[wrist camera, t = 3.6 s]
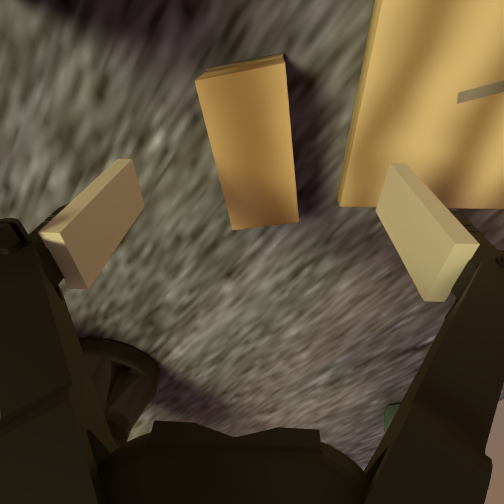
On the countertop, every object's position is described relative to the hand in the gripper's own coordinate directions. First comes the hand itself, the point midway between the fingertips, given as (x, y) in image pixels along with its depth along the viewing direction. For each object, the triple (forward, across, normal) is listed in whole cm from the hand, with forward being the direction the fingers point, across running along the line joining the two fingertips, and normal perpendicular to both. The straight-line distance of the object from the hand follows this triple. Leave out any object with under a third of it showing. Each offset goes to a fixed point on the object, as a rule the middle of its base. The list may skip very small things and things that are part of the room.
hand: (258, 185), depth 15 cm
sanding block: (+9, 0, 0) cm, 9 cm away
